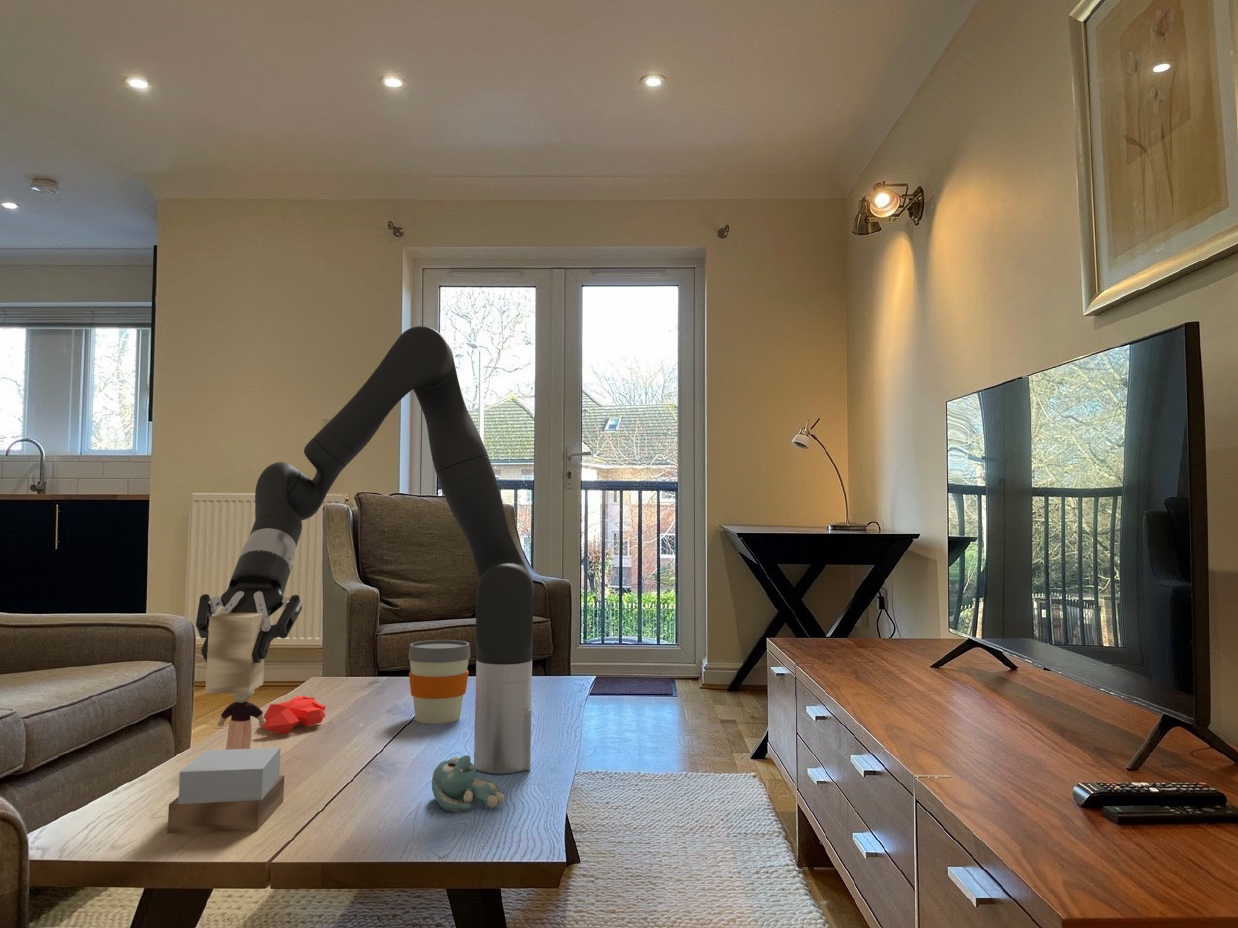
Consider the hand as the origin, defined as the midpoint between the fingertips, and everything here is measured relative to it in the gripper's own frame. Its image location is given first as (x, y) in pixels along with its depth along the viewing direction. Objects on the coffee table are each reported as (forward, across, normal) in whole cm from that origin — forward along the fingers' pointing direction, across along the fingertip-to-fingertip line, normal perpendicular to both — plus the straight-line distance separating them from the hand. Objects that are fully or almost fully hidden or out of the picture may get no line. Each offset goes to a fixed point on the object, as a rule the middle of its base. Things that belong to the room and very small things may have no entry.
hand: (232, 659), depth 108 cm
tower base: (+14, 0, +16) cm, 22 cm away
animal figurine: (-19, -5, +50) cm, 54 cm away
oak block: (+2, 0, +4) cm, 5 cm away
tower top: (+11, 0, +13) cm, 18 cm away
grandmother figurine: (-6, -8, +36) cm, 37 cm away
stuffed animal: (+12, +32, +18) cm, 38 cm away
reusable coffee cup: (-24, +22, +54) cm, 64 cm away
